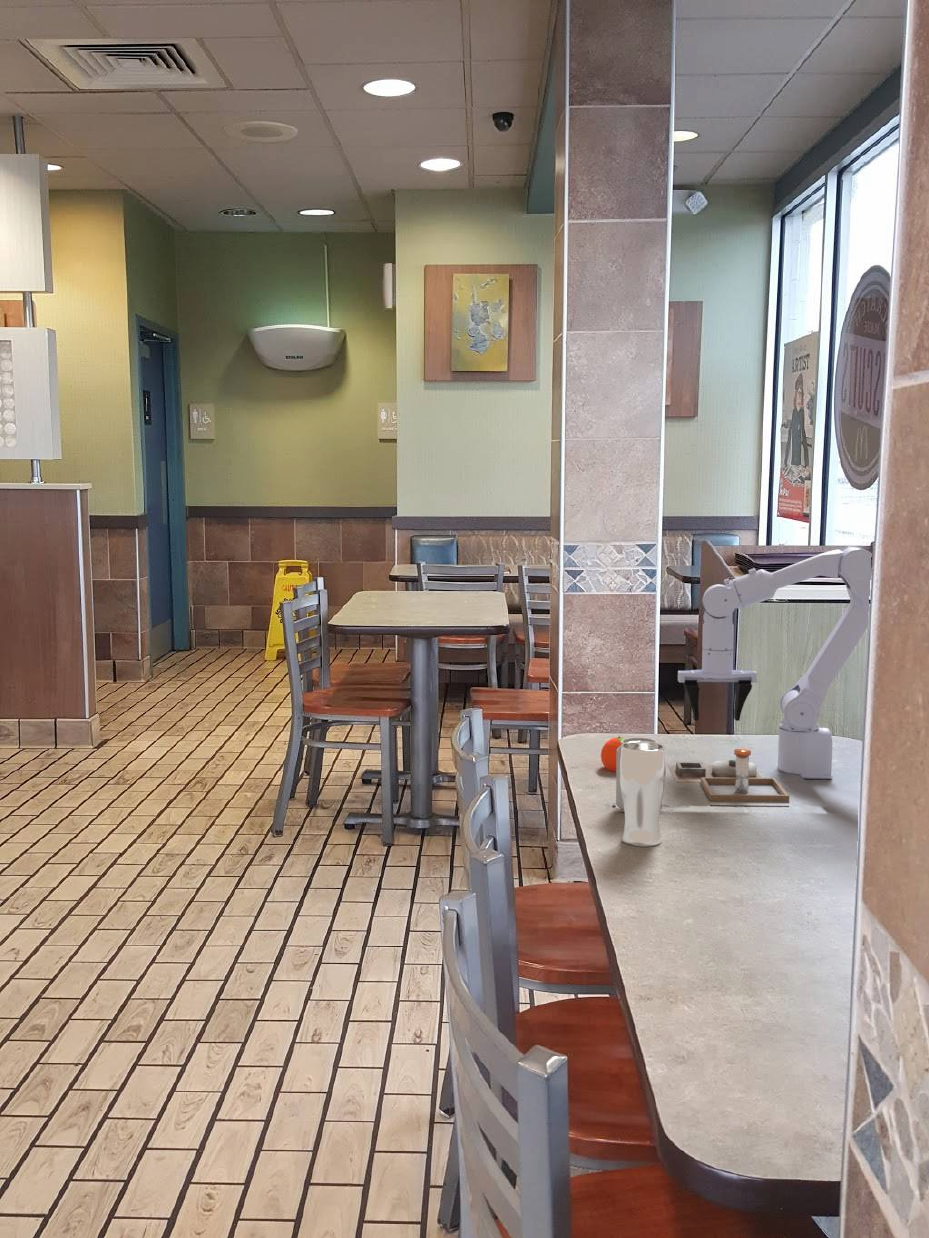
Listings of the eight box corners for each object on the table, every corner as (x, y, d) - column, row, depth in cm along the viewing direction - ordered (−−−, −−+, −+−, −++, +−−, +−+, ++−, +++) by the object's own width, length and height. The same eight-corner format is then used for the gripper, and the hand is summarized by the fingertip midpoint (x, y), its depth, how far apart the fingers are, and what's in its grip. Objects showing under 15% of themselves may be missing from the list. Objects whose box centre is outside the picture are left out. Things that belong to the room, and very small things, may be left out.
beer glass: (667, 835, 176) (669, 742, 174) (660, 849, 169) (662, 752, 167) (623, 831, 178) (624, 739, 176) (614, 845, 171) (615, 749, 169)
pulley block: (752, 770, 214) (752, 753, 213) (765, 788, 202) (765, 769, 201) (667, 769, 214) (667, 752, 214) (675, 787, 203) (675, 768, 202)
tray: (774, 788, 201) (775, 777, 201) (789, 807, 190) (789, 795, 190) (700, 788, 202) (700, 777, 202) (710, 806, 191) (710, 794, 191)
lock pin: (743, 791, 198) (744, 748, 197) (753, 795, 195) (754, 751, 194) (730, 792, 197) (731, 749, 196) (739, 797, 194) (740, 753, 193)
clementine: (648, 772, 213) (649, 735, 212) (633, 781, 207) (634, 743, 206) (610, 767, 217) (610, 731, 216) (594, 775, 211) (594, 738, 210)
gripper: (752, 645, 214) (750, 715, 216) (676, 645, 215) (675, 714, 217) (760, 651, 208) (758, 723, 209) (681, 651, 208) (679, 722, 210)
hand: (716, 719), depth 213 cm, fingers open, 7 cm apart
